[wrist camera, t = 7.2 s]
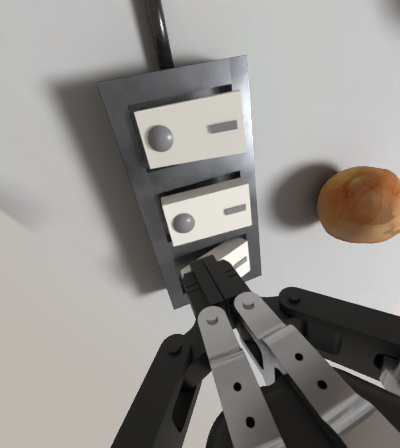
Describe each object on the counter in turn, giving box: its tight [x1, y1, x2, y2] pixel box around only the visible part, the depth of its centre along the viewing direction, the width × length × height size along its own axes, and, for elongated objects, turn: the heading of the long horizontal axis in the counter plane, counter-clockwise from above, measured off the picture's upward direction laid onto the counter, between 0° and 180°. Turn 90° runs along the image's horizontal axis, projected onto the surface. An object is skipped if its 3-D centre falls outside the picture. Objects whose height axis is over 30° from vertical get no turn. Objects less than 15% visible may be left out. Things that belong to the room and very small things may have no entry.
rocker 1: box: [134, 90, 246, 169], centre depth 19 cm, size 8×4×2 cm, turn 101°
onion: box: [317, 166, 400, 243], centre depth 30 cm, size 10×10×10 cm
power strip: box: [97, 0, 261, 310], centre depth 24 cm, size 12×33×4 cm, turn 10°
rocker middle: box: [161, 177, 252, 247], centre depth 23 cm, size 8×4×2 cm, turn 100°
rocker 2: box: [180, 236, 250, 278], centre depth 27 cm, size 8×4×2 cm, turn 100°
